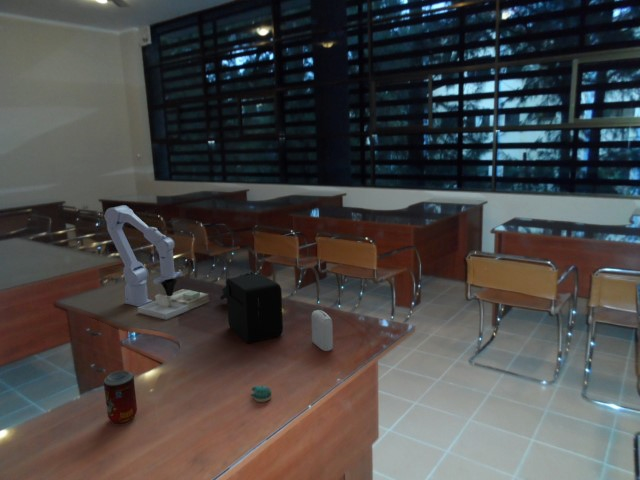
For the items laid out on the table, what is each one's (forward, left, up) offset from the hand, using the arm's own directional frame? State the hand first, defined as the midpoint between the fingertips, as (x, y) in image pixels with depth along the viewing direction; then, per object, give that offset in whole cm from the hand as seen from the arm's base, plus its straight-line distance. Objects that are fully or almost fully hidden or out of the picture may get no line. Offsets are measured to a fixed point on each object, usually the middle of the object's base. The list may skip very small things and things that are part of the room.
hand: (169, 295), depth 206 cm
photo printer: (+81, -5, -4) cm, 81 cm away
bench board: (+5, +5, -4) cm, 8 cm away
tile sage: (+9, +4, -1) cm, 10 cm away
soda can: (+58, -68, -4) cm, 89 cm away
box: (+5, -8, -4) cm, 10 cm away
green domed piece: (+82, -42, -5) cm, 92 cm away
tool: (+28, +17, -4) cm, 33 cm away
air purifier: (+53, -6, -4) cm, 53 cm away
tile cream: (0, -3, -1) cm, 4 cm away
